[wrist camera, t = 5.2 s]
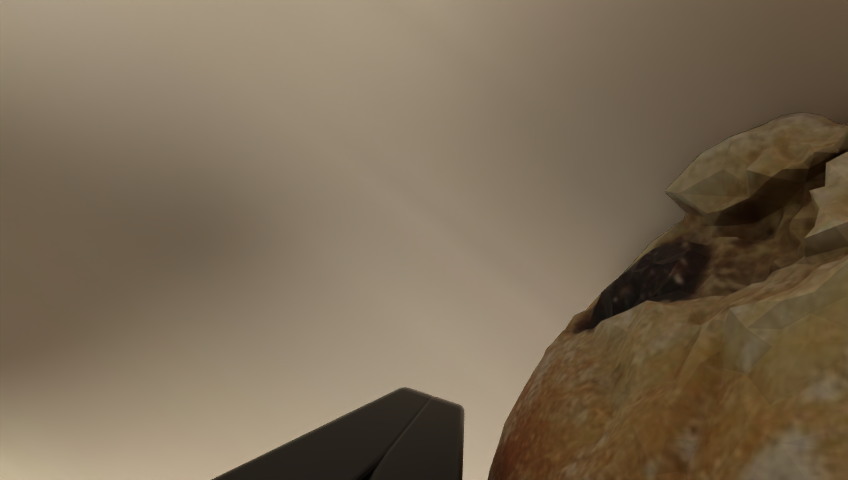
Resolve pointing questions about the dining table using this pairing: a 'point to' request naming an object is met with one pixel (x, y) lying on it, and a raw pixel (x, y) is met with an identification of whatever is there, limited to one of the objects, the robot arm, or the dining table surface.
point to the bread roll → (711, 332)
